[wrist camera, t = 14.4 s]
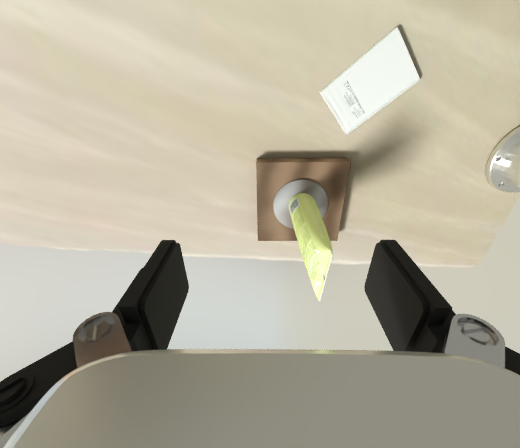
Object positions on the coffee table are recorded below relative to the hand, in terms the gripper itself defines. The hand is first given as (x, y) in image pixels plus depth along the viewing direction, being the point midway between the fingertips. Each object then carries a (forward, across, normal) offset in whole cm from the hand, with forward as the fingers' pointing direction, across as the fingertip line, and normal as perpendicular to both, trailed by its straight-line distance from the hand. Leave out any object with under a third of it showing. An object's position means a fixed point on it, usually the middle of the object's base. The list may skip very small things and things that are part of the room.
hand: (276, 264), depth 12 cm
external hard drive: (+35, -15, -7) cm, 39 cm away
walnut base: (+34, -6, +12) cm, 37 cm away
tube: (+32, -6, +12) cm, 34 cm away
